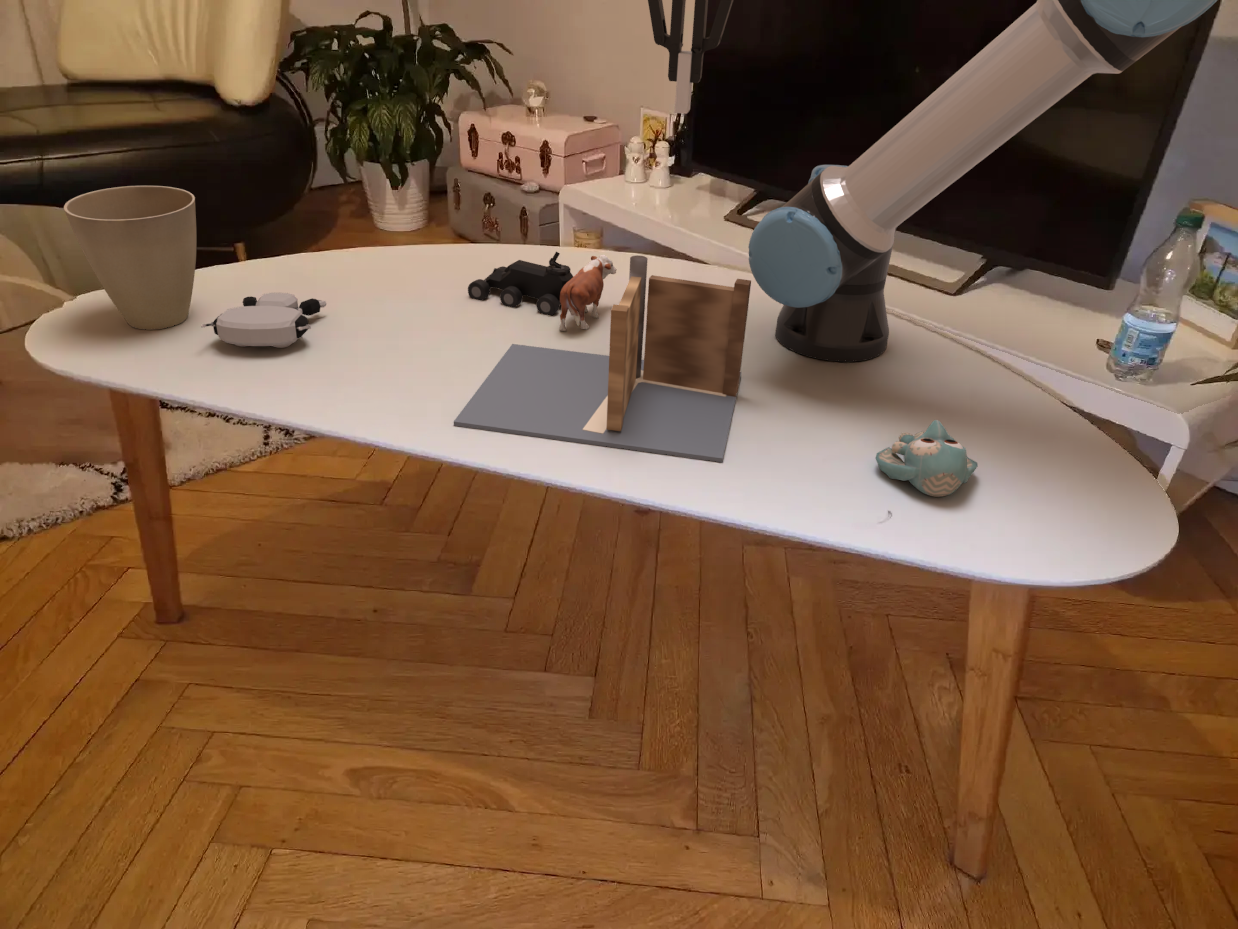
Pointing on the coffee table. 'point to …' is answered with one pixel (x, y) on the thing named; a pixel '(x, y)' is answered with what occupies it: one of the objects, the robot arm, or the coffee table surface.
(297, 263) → the coffee table surface
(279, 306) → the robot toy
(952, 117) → the robot arm
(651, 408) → the board
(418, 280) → the coffee table surface
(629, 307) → the fence panel
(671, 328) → the rod
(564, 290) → the bull figurine
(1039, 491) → the coffee table surface
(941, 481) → the stuffed animal
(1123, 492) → the coffee table surface
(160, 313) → the plant pot
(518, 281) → the toy vehicle
